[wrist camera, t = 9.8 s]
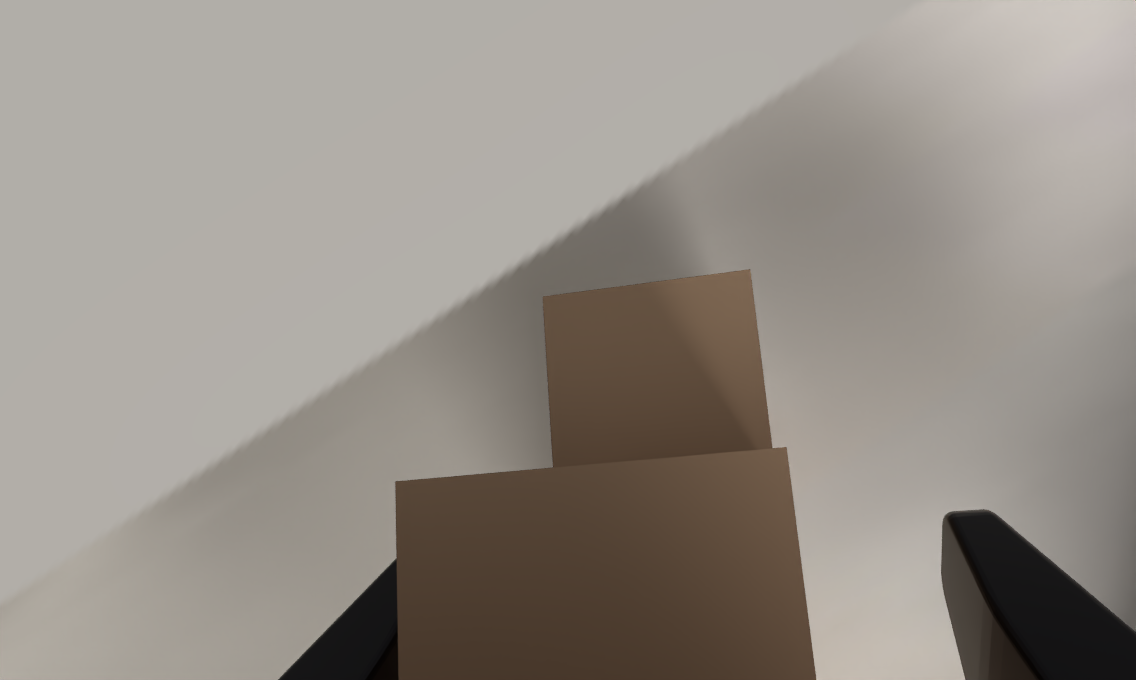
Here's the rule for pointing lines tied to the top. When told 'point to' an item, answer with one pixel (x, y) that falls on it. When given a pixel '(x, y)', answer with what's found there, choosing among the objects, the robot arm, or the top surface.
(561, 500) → the angular brown block
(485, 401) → the top surface
